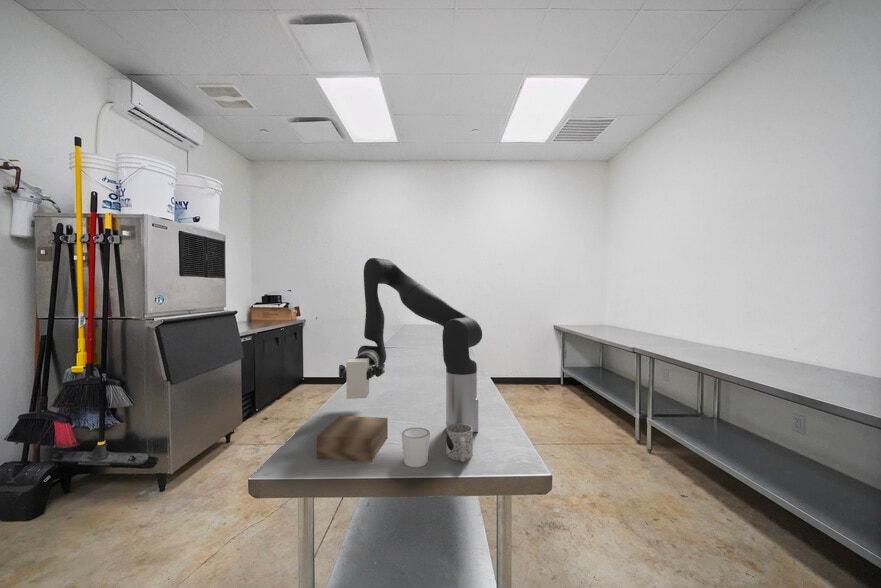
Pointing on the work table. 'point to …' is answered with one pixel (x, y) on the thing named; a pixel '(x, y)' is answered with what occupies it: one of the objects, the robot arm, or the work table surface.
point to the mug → (459, 441)
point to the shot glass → (415, 446)
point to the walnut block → (352, 438)
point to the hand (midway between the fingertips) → (356, 376)
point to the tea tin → (357, 378)
